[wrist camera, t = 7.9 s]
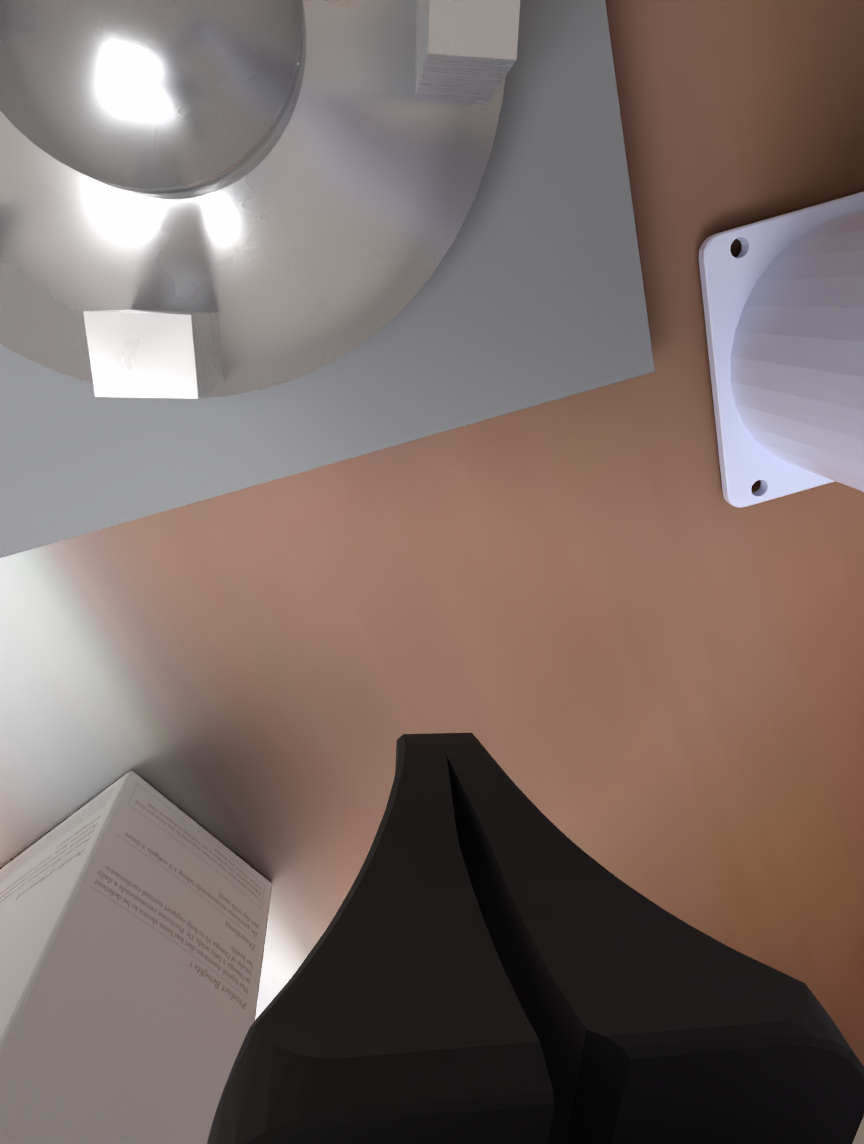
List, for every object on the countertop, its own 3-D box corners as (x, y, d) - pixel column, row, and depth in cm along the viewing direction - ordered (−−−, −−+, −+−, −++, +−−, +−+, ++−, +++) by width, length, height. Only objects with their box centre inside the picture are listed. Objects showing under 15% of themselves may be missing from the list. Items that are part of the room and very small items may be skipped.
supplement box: (-20, 876, 25) (-358, 1398, 13) (135, 762, 24) (-83, 1216, 12) (136, 984, 27) (-29, 1500, 16) (281, 885, 26) (221, 1359, 14)
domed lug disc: (523, -396, 13) (592, -682, 10) (479, 398, 19) (512, 423, 15) (-343, -522, 12) (-683, -924, 8) (-119, 386, 17) (-257, 411, 13)
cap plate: (485, -710, 13) (499, -818, 12) (638, 367, 20) (657, 372, 19) (-547, -414, 13) (-645, -491, 12) (-15, 553, 20) (-40, 570, 19)
